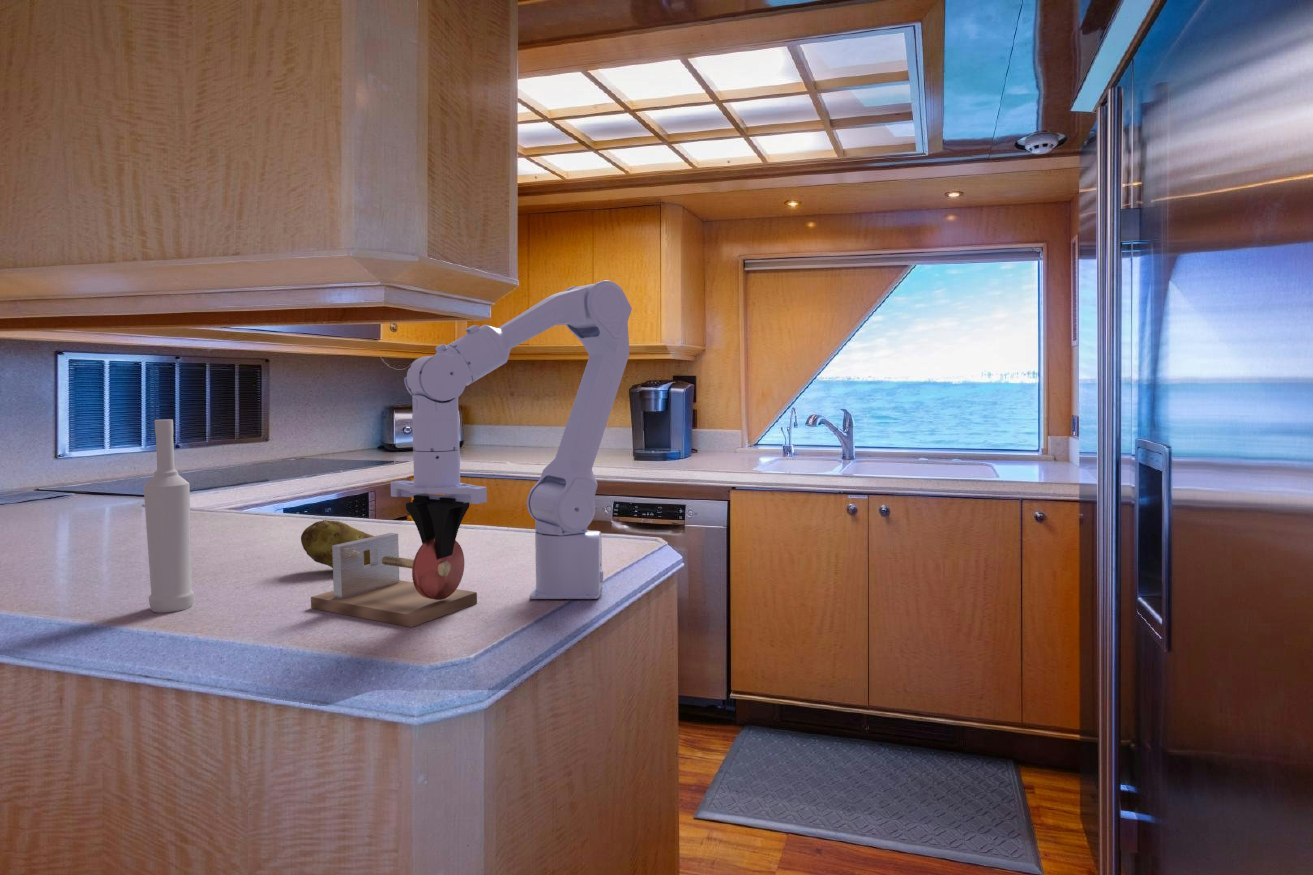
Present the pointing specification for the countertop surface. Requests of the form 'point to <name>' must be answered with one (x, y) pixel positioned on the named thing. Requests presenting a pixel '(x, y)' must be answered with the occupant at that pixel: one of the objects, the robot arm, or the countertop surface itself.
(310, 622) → the countertop surface
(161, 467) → the bottle
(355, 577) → the eye plate
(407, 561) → the copper disc on rod
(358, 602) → the base board
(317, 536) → the potato
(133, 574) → the countertop surface
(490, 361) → the robot arm
